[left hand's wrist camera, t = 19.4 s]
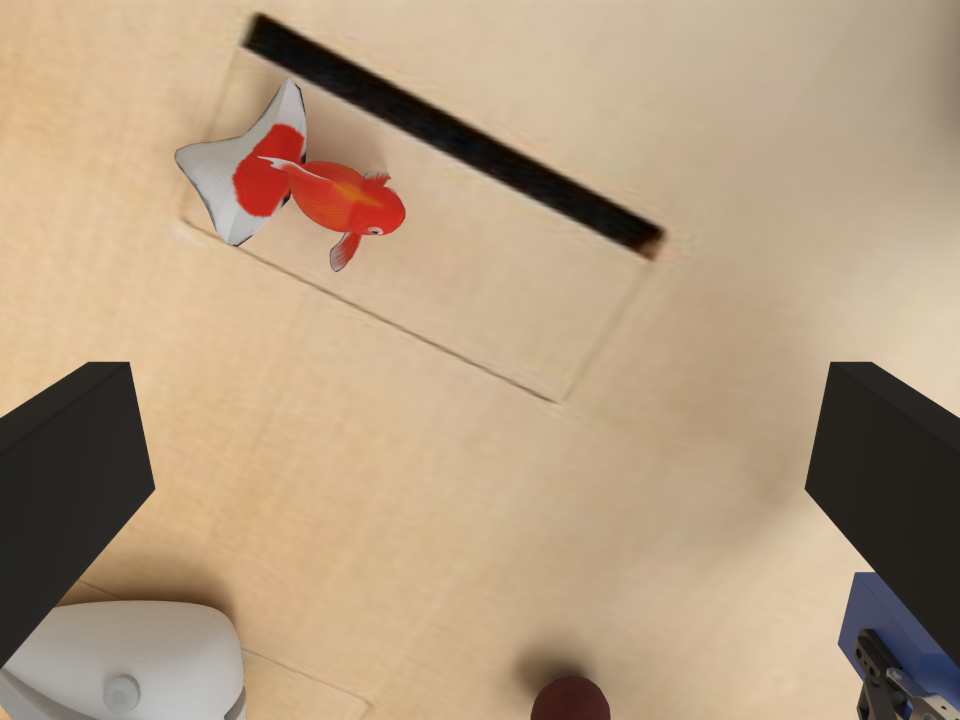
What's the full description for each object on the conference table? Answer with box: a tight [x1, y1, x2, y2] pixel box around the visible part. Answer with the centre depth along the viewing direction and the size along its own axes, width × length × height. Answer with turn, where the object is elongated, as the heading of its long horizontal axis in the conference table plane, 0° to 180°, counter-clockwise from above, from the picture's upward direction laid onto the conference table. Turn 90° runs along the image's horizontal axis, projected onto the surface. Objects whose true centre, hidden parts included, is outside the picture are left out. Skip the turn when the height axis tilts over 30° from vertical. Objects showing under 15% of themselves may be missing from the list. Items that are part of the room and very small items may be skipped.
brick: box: [838, 572, 960, 712], centre depth 45 cm, size 4×7×8 cm, turn 0°
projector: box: [0, 600, 247, 720], centre depth 55 cm, size 22×23×15 cm
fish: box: [175, 77, 405, 272], centre depth 43 cm, size 11×16×10 cm
